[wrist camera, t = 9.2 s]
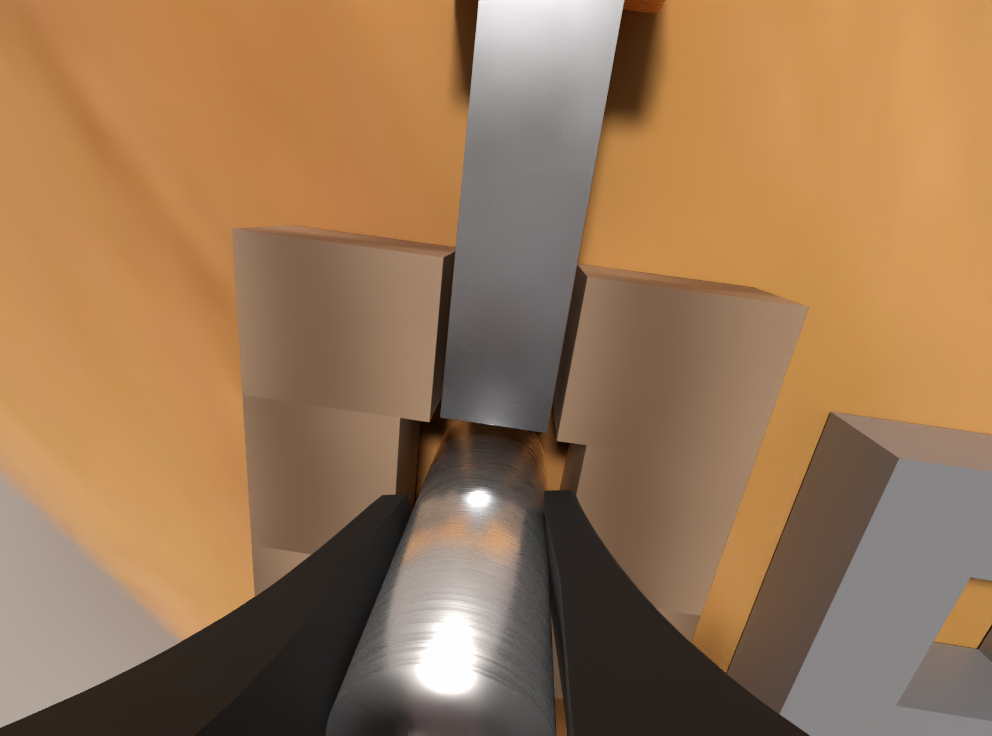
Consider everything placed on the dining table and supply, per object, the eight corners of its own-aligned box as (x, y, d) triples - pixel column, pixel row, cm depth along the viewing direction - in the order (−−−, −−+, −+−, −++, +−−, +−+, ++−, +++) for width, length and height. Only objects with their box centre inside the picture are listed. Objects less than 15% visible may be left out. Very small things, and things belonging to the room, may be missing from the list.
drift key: (670, -57, 9) (719, -151, 7) (580, 395, 13) (591, 439, 10) (456, -81, 10) (430, -181, 7) (422, 372, 13) (395, 410, 10)
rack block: (1211, 466, 12) (1372, 526, 10) (1024, 723, 16) (1112, 815, 13) (831, 411, 13) (899, 458, 10) (726, 675, 16) (759, 757, 14)
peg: (551, 417, 13) (573, 687, 6) (538, 510, 14) (541, 843, 7) (441, 404, 13) (322, 651, 6) (435, 497, 15) (328, 808, 7)
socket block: (753, 287, 12) (809, 307, 9) (645, 640, 16) (665, 716, 13) (290, 225, 12) (232, 229, 10) (298, 584, 16) (258, 649, 14)
